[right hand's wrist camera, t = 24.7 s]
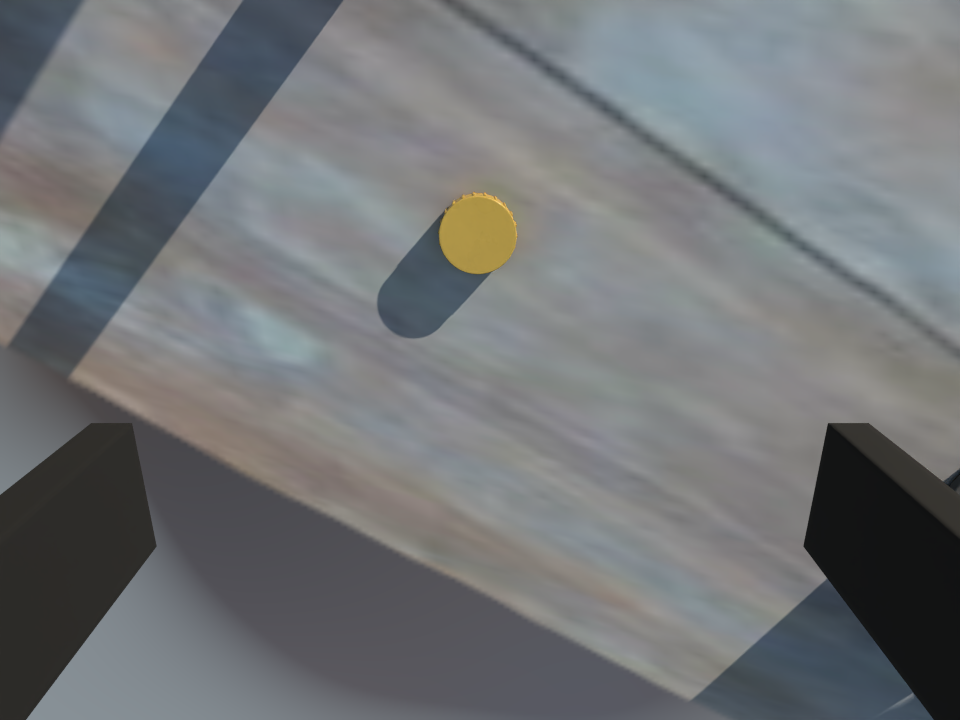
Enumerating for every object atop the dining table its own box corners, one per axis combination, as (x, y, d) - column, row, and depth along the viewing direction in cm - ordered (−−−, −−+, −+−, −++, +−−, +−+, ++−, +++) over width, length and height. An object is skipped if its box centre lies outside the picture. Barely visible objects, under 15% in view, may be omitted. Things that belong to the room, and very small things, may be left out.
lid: (468, 176, 39) (467, 178, 37) (531, 222, 40) (533, 226, 38) (424, 240, 40) (422, 245, 39) (486, 283, 41) (487, 290, 39)
